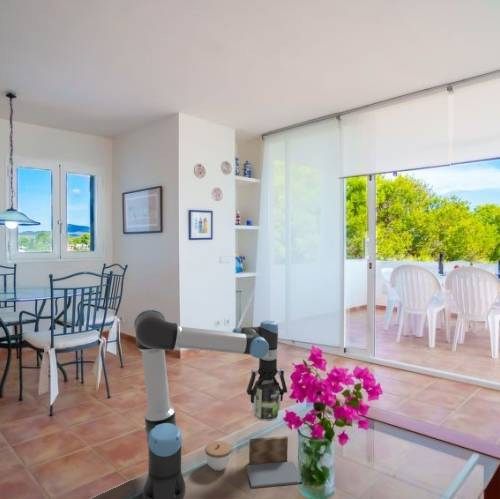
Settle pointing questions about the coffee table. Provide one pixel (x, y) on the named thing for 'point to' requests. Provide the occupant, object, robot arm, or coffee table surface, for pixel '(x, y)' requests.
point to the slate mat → (272, 474)
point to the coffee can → (267, 401)
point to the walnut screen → (268, 450)
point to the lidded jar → (218, 454)
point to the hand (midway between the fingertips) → (266, 409)
